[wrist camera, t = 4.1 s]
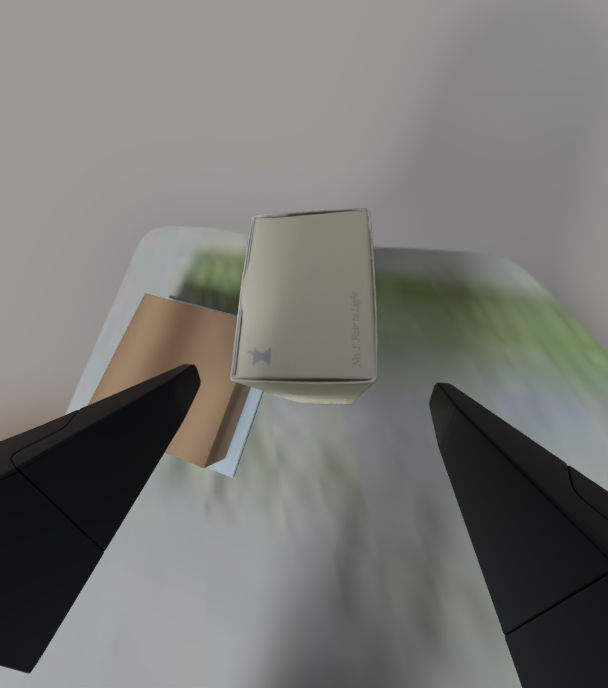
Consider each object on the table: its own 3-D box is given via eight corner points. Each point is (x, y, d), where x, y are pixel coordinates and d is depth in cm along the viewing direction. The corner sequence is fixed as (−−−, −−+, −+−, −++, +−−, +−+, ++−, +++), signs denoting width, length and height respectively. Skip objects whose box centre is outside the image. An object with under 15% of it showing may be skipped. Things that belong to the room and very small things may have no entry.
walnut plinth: (269, 335, 20) (258, 322, 17) (225, 458, 17) (203, 468, 15) (170, 308, 22) (145, 293, 19) (119, 416, 19) (81, 417, 17)
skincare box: (351, 405, 18) (385, 395, 6) (293, 402, 18) (224, 389, 7) (351, 326, 19) (377, 202, 8) (298, 326, 20) (249, 210, 8)
